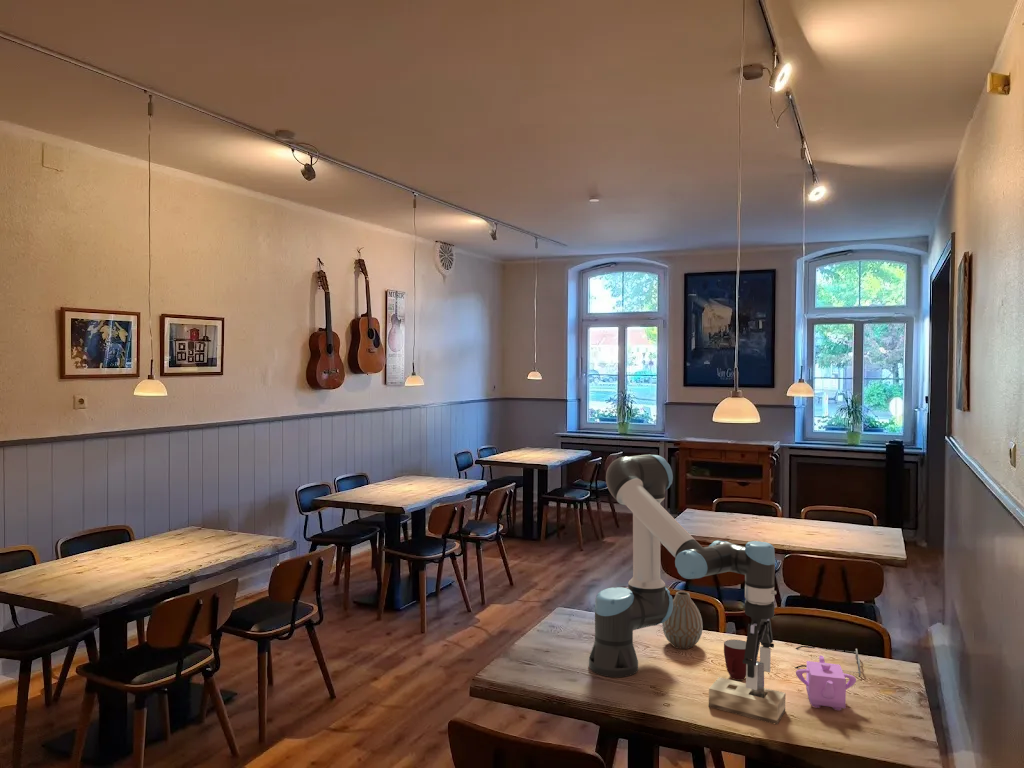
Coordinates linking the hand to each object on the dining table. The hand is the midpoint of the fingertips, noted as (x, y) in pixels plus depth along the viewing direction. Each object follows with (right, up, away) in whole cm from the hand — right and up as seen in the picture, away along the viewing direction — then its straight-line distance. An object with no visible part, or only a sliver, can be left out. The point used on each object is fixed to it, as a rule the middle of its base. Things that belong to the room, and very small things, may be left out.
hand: (758, 679), depth 195 cm
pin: (0, -8, 0) cm, 8 cm away
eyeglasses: (+33, -9, +34) cm, 49 cm away
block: (-3, -9, +2) cm, 9 cm away
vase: (-9, -8, +48) cm, 50 cm away
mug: (+1, -9, +21) cm, 23 cm away
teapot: (+20, -9, +6) cm, 23 cm away
